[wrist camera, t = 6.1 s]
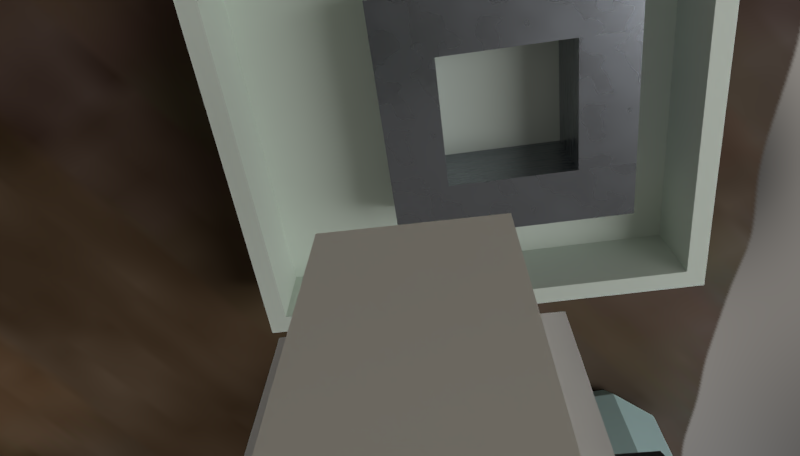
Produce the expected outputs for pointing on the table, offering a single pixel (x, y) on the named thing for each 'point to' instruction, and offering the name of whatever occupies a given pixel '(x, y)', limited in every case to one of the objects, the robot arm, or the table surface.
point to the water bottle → (629, 426)
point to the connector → (417, 349)
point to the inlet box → (452, 138)
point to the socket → (518, 165)
